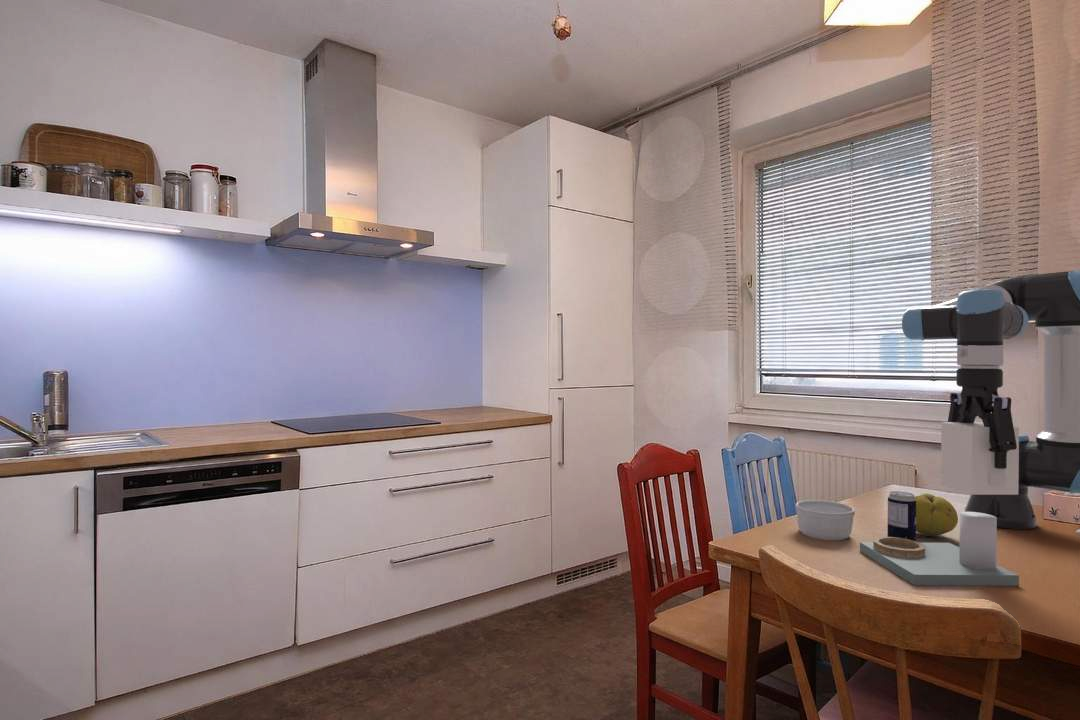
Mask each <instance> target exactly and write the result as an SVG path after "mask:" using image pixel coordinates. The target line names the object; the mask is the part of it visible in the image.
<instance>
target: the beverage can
mask: <svg viewBox="0 0 1080 720" xmlns="http://www.w3.org/2000/svg"><path fill="white" fill-rule="evenodd" d="M914 496H915V494H914V493H911V492H906V491H890V492H889V495H888V497H887V535H886V537H898V538H905V539H909V540H913V541H917V532H916V499H915V497H914Z"/></svg>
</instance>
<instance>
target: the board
mask: <svg viewBox="0 0 1080 720" xmlns="http://www.w3.org/2000/svg"><path fill="white" fill-rule="evenodd" d="M997 529H998V527H997V518H996V517H995V516H993V515H989V514H985V513H978V512H965V511H962V512H961V511H960V512H959V545H955V544H953V543H951V542H920V543H921V544H923V545H925V556H923V557H919V558H905V557H898V556H892V555H888V554H885V553H881V552H879V551H877V550H876V549H874V548H873V541H872V542H871V541H870V542H869V541H868V542H867V541H865V542H863V541H860V542H859V552H861V553H862V554H863V555H865V556H867V557H868V558H870V559H872V560H873V561H875V562H877V563H878V564H880V565H882V566H883V567H885V568H886V569H888V570H889V571H891V572H893V573H894V574H896V575H898V576H899V577H901V578H902V579H904V580H905V581H907V582H908V583H910V584H912V585H913V584H914V585H913V586H984V587H985V586H989V587H990V586H991V587H992V586H996V587H997V586H1003V587H1005V586H1007V587H1009V586H1010V587H1012V586H1013V587H1014V586H1016V587H1019V586H1020V575H1019V574H1017V573H1015V572H1013V571H1011V570H1008V569H1007V568H1004V567H1002V566H999V565H997V536H998V535H997V534H998V532H997ZM887 546H890V547H894V548H901V549H912V548H908V547H905V546H898V545H887Z"/></svg>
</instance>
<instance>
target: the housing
mask: <svg viewBox="0 0 1080 720" xmlns="http://www.w3.org/2000/svg"><path fill="white" fill-rule="evenodd" d="M1013 427H1014V433H1015V439H1016V445H1017V448H1016V449H1015V450H1009V451H1008V452H1007V466H1006V469H1005V485H989V484H988V451H989V450H988V449H990V448H991V445H990V442H989V427H984V424H983V421H974V423H960V422H948V421H941V426H940V429H941V430H940V433H941V435H940V436H941V438H940V443H941V444H940V447H941V448H940V451H941V453H940V455H941V456H940V485H942V486H945V487H948V488H950V489H954V490H957V491H960V492H963V493H965V494H969V495H970V496H971V495H1018V479H1019V434H1020V427H1019V426H1013ZM1007 443H1009V442H1007ZM998 445H999V443H998Z"/></svg>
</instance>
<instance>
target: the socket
mask: <svg viewBox="0 0 1080 720" xmlns="http://www.w3.org/2000/svg"><path fill="white" fill-rule="evenodd" d="M872 542H873V548H874V549H876V550H877V551H879V552H881V553H885V554H888V555H892V556H898V557H905V558H919V557H923V556H925V545H923V544H921V543H922V542H918V540H916V541H913V540H909V539H905V538H898V537H887V536H878V537H874V538H873V541H872ZM887 545H898V546H905V547H908V548H912V549H901V548H894V547H890V546H887Z"/></svg>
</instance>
